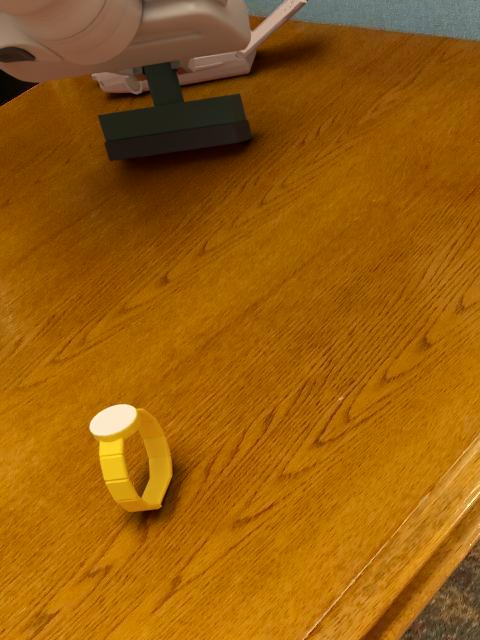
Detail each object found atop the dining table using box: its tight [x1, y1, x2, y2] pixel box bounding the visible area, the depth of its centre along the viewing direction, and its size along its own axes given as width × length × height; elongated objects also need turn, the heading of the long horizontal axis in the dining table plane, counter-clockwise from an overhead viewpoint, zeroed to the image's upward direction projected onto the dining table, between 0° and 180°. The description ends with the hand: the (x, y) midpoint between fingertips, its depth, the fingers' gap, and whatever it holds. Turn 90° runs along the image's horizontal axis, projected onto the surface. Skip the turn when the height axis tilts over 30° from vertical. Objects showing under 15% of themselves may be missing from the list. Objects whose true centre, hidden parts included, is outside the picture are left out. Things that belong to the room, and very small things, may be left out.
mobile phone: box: [91, 0, 309, 95], centre depth 100 cm, size 6×6×25 cm
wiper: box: [97, 62, 254, 162], centre depth 87 cm, size 12×4×12 cm, turn 90°
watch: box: [89, 403, 173, 513], centre depth 59 cm, size 6×3×6 cm, turn 0°
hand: (165, 68), depth 88 cm, fingers closed on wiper, 3 cm apart
